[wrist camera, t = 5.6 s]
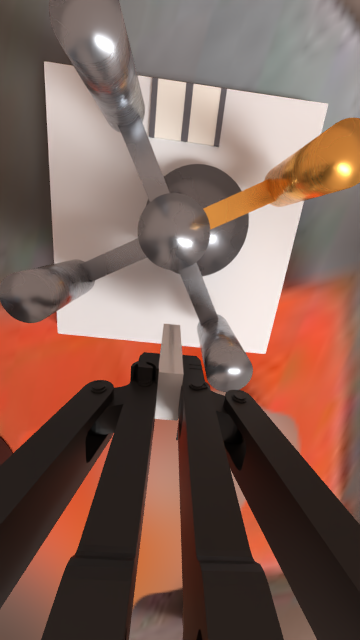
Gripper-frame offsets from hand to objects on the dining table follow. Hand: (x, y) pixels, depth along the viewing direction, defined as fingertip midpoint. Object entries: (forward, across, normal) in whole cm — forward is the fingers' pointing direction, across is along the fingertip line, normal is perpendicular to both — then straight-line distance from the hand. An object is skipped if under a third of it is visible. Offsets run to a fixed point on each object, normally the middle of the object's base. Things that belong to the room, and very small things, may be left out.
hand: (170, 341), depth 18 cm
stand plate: (+7, 0, +7) cm, 10 cm away
